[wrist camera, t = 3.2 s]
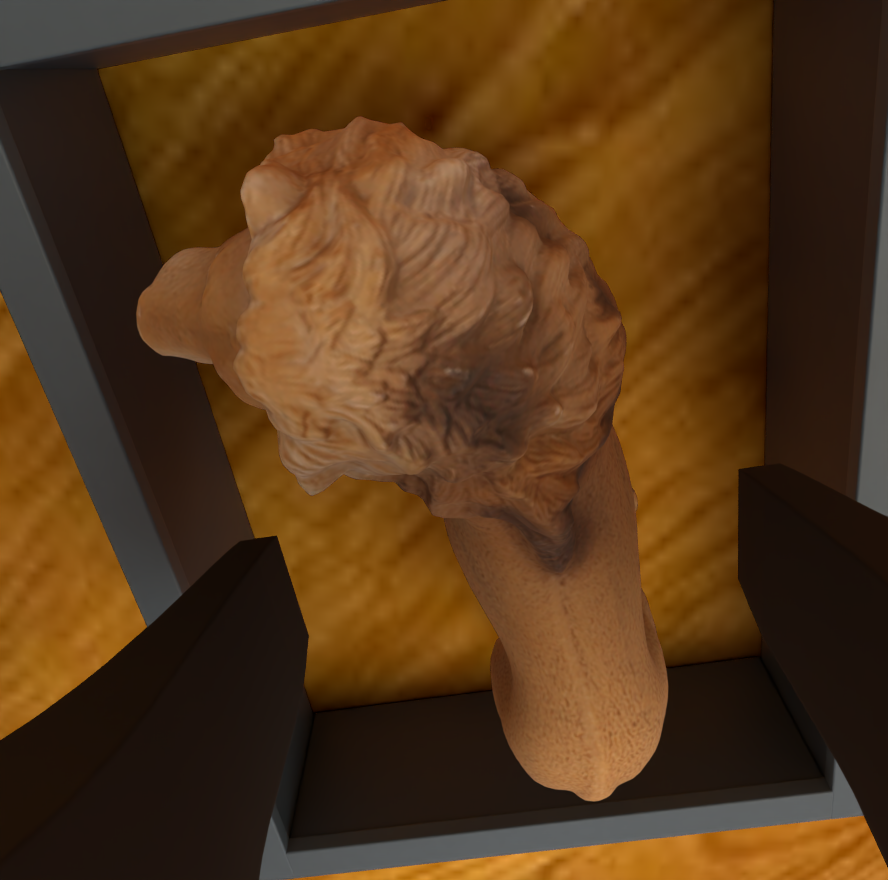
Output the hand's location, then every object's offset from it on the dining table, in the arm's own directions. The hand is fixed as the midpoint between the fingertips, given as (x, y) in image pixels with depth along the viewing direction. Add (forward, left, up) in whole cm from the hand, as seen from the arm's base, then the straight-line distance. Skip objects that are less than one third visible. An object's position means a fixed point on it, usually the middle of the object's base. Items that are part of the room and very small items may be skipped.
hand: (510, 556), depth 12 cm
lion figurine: (0, 0, -6) cm, 6 cm away
